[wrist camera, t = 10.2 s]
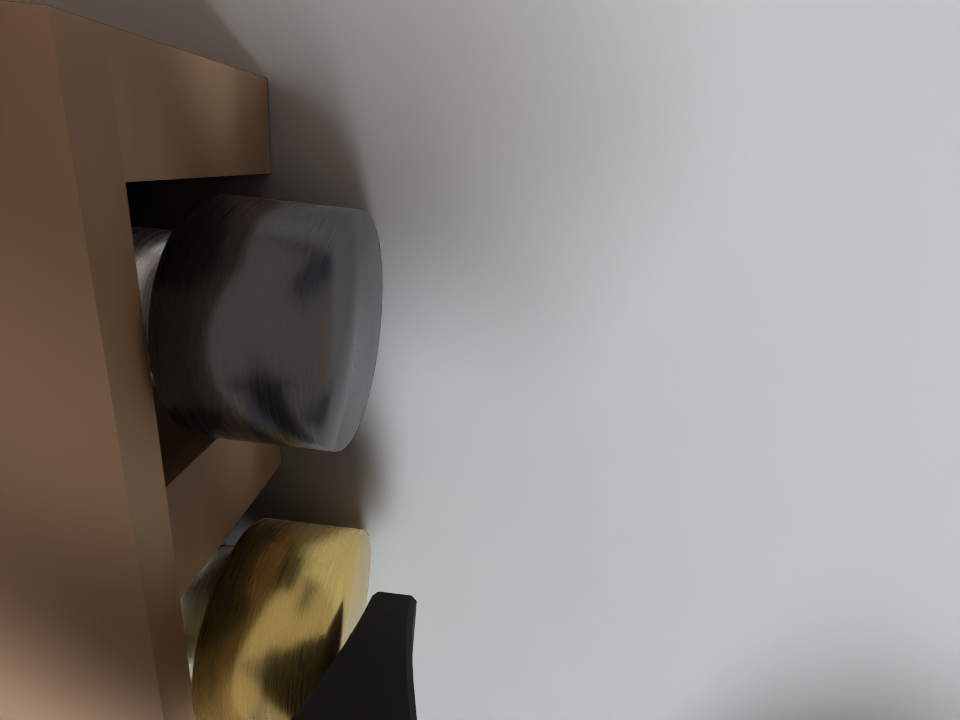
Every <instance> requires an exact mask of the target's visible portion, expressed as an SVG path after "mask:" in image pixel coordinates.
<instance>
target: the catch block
mask: <svg viewBox="0 0 960 720" xmlns="http://www.w3.org/2000/svg"><path fill="white" fill-rule="evenodd" d="M266 173H271V168H270V141H269V113H268V86H267V78H264V77H261V76H258V75H255V74H252V73H249V72H246V71H243V70H240V69H237V68H234V67H231V66H228V65H225V64H222V63H219V62H216V61H213V60H210V59H207V58H204V57H201V56H198V55H195V54H192V53H189V52H186V51H183V50H180V49H177V48H174V47H171V46H168V45H165V44H162V43H159V42H156V41H153V40H150V39H147V38H144V37H141V36H138V35H135V34H132V33H129V32H126V31H123V30H120V29H117V28H114V27H111V26H108V25H105V24H102V23H99V22H96V21H93V20H90V19H87V18H84V17H81V16H78V15H75V14H72V13H69V12H66V11H63V10H60V9H57V8H54V7H51V6H48V5H41V4H32V3H22V2H13V1H4V0H0V720H196V718H195V715H194V711H193V707H192V695H191V689H192V684H191V679H190V671H189V663H188V656H187V648H186V641H185V633H184V625H183V618H182V610H181V602H180V599H181V598H182V596H183V595H184V594H185V592H186V591H187V590H188V588H189V587H190V586H191V584H192V583H193V582H194V580H195V579H196V577H197V576H198V575H199V573H200V572H201V571H202V569H203V568H204V567H205V565H206V564H207V563H208V561H209V560H210V559H211V557H212V556H213V555H214V553H215V552H216V551H217V549H218V548H219V547H220V545H221V544H222V543H223V541H224V540H225V539H226V537H227V536H228V535H229V533H230V532H231V530H232V529H233V528H234V526H235V525H236V524H237V522H238V521H239V520H240V518H241V517H242V516H243V514H244V513H245V512H246V510H247V509H248V508H249V506H250V505H251V504H252V502H253V501H254V500H255V498H256V497H257V496H258V494H259V493H260V492H261V490H262V489H263V488H264V486H265V485H266V483H267V482H268V481H269V479H270V478H271V477H272V475H273V474H274V473H275V471H276V470H277V469H278V467H279V466H280V465H281V445H273V444H264V443H256V442H247V441H239V440H230V439H222V438H213V437H205V436H198V435H193V434H190V433H188V432H186V431H184V430H183V429H182V428H180V427H179V426H178V425H177V424H176V423H175V422H174V421H173V420H172V419H171V417H170V416H169V414H168V413H167V411H166V409H165V408H164V406H163V404H162V402H161V399H160V397H159V395H158V392H157V389H152V381H151V374H150V366H149V359H148V351H147V343H146V336H145V328H144V320H143V313H142V305H141V298H140V290H139V282H138V275H137V267H136V260H135V252H134V244H133V237H132V229H131V221H130V214H129V206H128V199H127V191H126V183H125V182H136V181H152V180H168V179H185V178H201V177H217V176H234V175H250V174H266Z"/></svg>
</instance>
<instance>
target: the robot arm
mask: <svg viewBox="0 0 960 720" xmlns="http://www.w3.org/2000/svg"><path fill="white" fill-rule="evenodd" d="M416 603H417V601H416V600H415V599H414V598H413V597H412V596H410V595H402V594H394V593H386V592H377V593H376V594H374V595H373V596H372V598H371V600H370V601H369V603H368V605H367V607H366V609H365V611H364V613H363V614H362V616H361V618H360V620H359V621H358V623H357V625H356V626H355V628H354V630H353V631H352V633H351V635H350V636H349V638H348V639H347V641H346V642H345V644H344V645H343V647H342V648H341V650H340V652H339V653H338V655H337V656H336V658H335V659H334V660H333V662H332V663H331V665H330V666H329V668H328V669H327V670H326V672H325V673H324V675H323V676H322V678H321V679H320V680H319V682H318V683H317V685H316V686H315V688H314V689H313V690H312V692H311V693H310V695H309V696H308V697H307V699H306V700H305V701H304V703H303V704H302V705H301V706H300V708H299V709H298V710H297V712H296V713H295V714H294V715H293V717H292V718H291V719H290V720H417V716H416V705H415V694H414V683H413V666H412V653H413V640H414V628H415V616H416Z"/></svg>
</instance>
